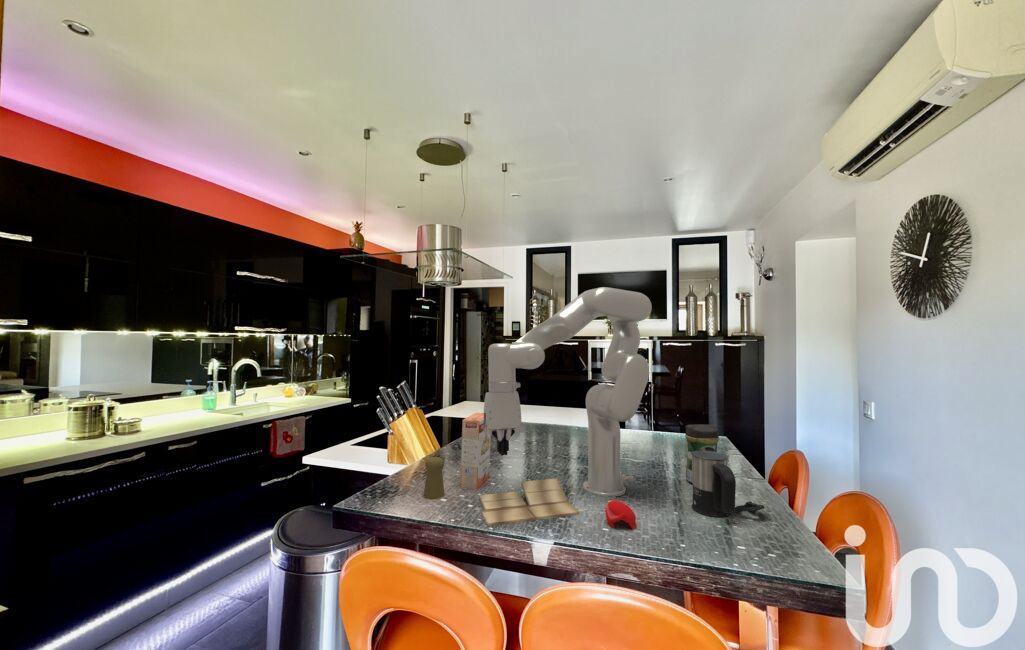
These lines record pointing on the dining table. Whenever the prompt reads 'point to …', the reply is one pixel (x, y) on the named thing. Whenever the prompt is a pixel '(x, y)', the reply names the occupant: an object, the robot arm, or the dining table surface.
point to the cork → (434, 478)
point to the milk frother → (715, 485)
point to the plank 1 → (501, 500)
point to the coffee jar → (700, 442)
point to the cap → (620, 513)
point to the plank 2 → (543, 491)
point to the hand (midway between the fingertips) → (503, 453)
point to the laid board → (528, 513)
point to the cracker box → (474, 453)
